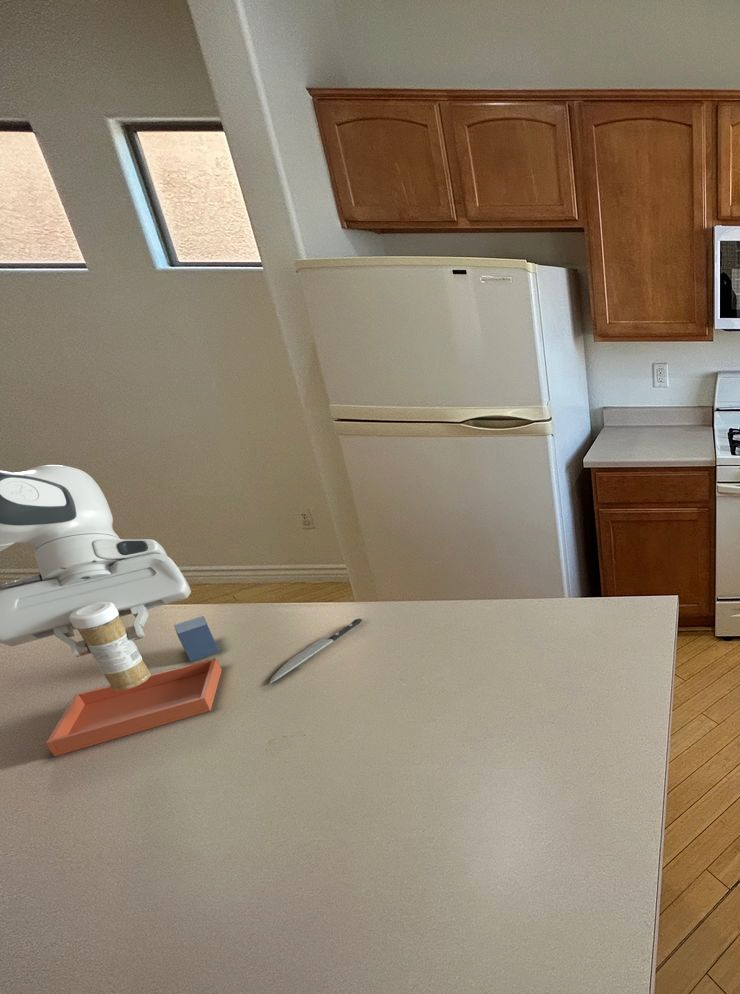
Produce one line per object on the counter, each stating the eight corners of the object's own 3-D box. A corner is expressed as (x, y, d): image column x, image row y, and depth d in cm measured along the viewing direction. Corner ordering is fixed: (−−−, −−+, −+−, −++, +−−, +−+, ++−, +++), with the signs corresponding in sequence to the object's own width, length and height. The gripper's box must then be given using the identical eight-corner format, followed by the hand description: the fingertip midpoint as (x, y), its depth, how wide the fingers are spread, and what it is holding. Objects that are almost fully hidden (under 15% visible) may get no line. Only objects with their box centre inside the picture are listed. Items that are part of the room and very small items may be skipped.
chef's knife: (256, 683, 93) (269, 685, 92) (253, 677, 93) (266, 680, 92) (352, 620, 110) (364, 621, 109) (350, 615, 109) (362, 617, 108)
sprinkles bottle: (127, 673, 87) (86, 601, 81) (160, 670, 87) (121, 599, 82) (102, 694, 83) (57, 619, 77) (137, 690, 83) (95, 616, 78)
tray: (54, 756, 79) (45, 743, 77) (82, 706, 87) (74, 694, 86) (210, 710, 87) (204, 698, 86) (222, 669, 96) (216, 657, 95)
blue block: (190, 661, 98) (176, 634, 95) (187, 652, 100) (173, 624, 98) (219, 651, 100) (207, 624, 98) (215, 642, 103) (203, 615, 100)
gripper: (-35, 581, 75) (-9, 673, 73) (168, 536, 88) (195, 613, 86) (-11, 596, 80) (14, 682, 78) (178, 552, 93) (204, 625, 90)
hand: (111, 646), depth 82 cm, fingers closed on sprinkles bottle, 4 cm apart
